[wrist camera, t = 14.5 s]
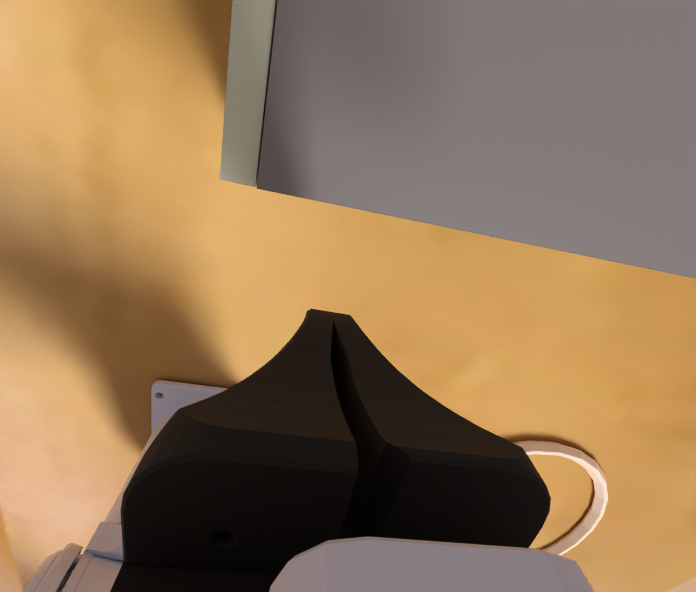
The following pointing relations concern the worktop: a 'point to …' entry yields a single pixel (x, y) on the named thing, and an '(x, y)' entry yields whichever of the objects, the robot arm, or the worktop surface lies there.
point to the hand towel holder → (599, 485)
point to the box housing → (494, 119)
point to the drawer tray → (247, 88)
